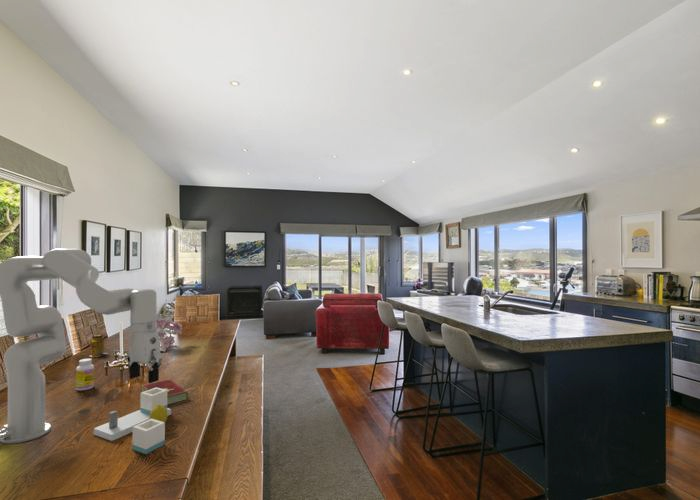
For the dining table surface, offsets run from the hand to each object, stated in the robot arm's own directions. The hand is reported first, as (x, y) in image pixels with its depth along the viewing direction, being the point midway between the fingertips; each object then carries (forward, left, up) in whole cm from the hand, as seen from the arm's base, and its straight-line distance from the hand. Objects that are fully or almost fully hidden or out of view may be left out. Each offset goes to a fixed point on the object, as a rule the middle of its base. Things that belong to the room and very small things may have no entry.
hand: (144, 379), depth 119 cm
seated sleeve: (+14, +14, -18) cm, 26 cm away
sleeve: (-2, -5, -20) cm, 21 cm away
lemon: (+8, +3, -20) cm, 22 cm away
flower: (+81, +96, -20) cm, 127 cm away
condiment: (+53, +118, -20) cm, 131 cm away
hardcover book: (+28, +27, -21) cm, 44 cm away
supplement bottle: (+18, +67, -20) cm, 72 cm away
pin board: (+6, +14, -20) cm, 25 cm away
